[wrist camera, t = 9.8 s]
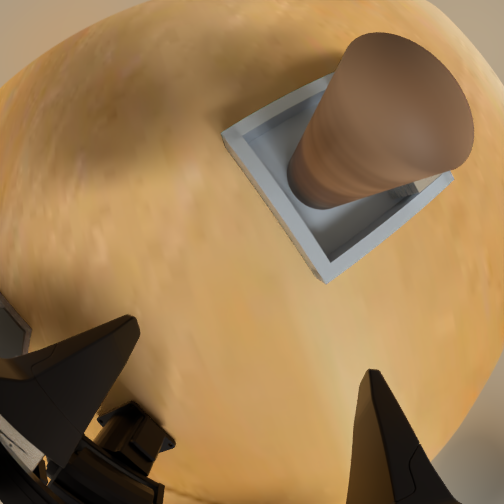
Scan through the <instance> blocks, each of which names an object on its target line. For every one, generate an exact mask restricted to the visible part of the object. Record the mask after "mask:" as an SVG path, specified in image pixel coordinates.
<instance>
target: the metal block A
mask: <svg viewBox="0 0 504 504" xmlns="http://www.w3.org/2000/svg"><path fill="white" fill-rule="evenodd" d="M441 174H442V173H441ZM441 174H437V175H434V176H431V177H428V178H424V179H421V180H418V181H415V182H412V183H409V184H405V185H402V186H399V187H396V188H393V189H390V190H387V192H388V193H389V195H390V197H391V199H396V198H400V197H404V196H408V195H413V194H417V193H420V192H421V191H422V190H423V189H425V188H426V187H427V186H428V185H429V184H431V183H432V182H433V181H434V180H435V179H436V178H438V177H439V176H440V175H441Z"/></svg>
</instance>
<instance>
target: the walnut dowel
mask: <svg viewBox="0 0 504 504" xmlns="http://www.w3.org/2000/svg"><path fill="white" fill-rule="evenodd" d="M473 141H474V124H473V118H472V113H471V110H470V107H469V104H468V101H467V99H466V97H465V95H464V93H463V91H462V89H461V87H460V86H459V84H458V82H457V81H456V79H455V78H454V77H453V75H452V74H451V73H450V71H449V70H448V69H447V68H446V67H445V66H444V65H443V64H442V63H441V62H440V61H439V60H438V59H437V58H436V57H435V56H434V55H432V54H431V53H430V52H429V51H427V50H426V49H424V48H423V47H421V46H420V45H418V44H416V43H415V42H413V41H411V40H408V39H406V38H403V37H401V36H398V35H394V34H389V33H378V32H376V33H368V34H365V35H362V36H360V37H358V38H356V39H355V40H354V41H352V42H351V43H350V45H349V46H348V47H347V49H346V51H345V53H344V55H343V57H342V59H341V61H340V63H339V65H338V67H337V69H336V71H335V73H334V74H333V76H332V78H331V80H330V82H329V84H328V86H327V88H326V90H325V92H324V94H323V96H322V98H321V100H320V102H319V104H318V106H317V108H316V110H315V112H314V114H313V116H312V118H311V120H310V122H309V123H308V125H307V127H306V129H305V131H304V133H303V135H302V137H301V139H300V141H299V143H298V145H297V147H296V149H295V151H294V153H293V155H292V157H291V159H290V161H289V164H288V167H287V181H288V185H289V187H290V189H291V191H292V193H293V194H294V196H295V197H296V198H297V199H298V200H299V201H300V202H301V203H303V204H304V205H306V206H308V207H310V208H313V209H318V210H327V209H331V208H334V207H337V206H340V205H343V204H347V203H350V202H353V201H356V200H359V199H362V198H365V197H368V196H371V195H374V194H377V193H380V192H383V191H387V190H390V189H393V188H396V187H399V186H402V185H405V184H409V183H412V182H415V181H418V180H421V179H424V178H428V177H431V176H434V175H437V174H441V173H444V172H447V171H450V170H454V169H456V168H458V167H459V166H461V165H462V164H463V163H464V162H465V161H466V159H467V158H468V157H469V154H470V152H471V150H472V146H473Z"/></svg>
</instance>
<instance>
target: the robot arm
mask: <svg viewBox="0 0 504 504" xmlns="http://www.w3.org/2000/svg"><path fill="white" fill-rule="evenodd" d="M139 337H140V329H139V325H138V322H137V319H136V317H134V316H131V315H124V316H122V317H119V318H117V319H114V320H112V321H110V322H107V323H105V324H102V325H100V326H97V327H95V328H93V329H90V330H88V331H85V332H83V333H80V334H78V335H76V336H73V337H71V338H68V339H66V340H63V341H61V342H58V343H56V344H53V345H51V346H48V347H46V348H43V349H40V350H37V351H34V352H31V353H28V354H24V355H21V356H18V357H14V358H9V359H4V358H0V500H1V502H2V503H3V504H163V497H164V488H165V485H163V484H161V483H157V482H155V481H153V480H151V479H150V478H148V477H147V476H148V475H149V473H150V470H151V468H152V466H153V463H154V461H155V460H156V458H157V456H158V453H160V452H163V451H166V450H170V449H173V448H175V445H176V443H175V441H174V440H172V439H171V438H170V437H169V436H168V435H167V434H166V433H165V432H164V431H163V430H162V429H161V428H160V427H159V426H158V425H157V424H156V423H155V422H154V421H153V420H152V419H151V418H150V417H149V416H148V415H147V414H146V413H145V412H144V411H143V410H142V409H141V408H140V406H139V405H138V404H137V403H136V402H134V401H130V402H128V403H126V404H124V405H121V406H119V407H117V408H115V409H113V410H111V411H109V412H107V413H104V414H102V415H100V416H99V417H98V418H97V421H98V422H99V423H100V424H101V426H102V427H103V428H102V430H101V431H100V432H99V434H98V435H97V436H96V438H95V439H94V440H93V441H92V440H90V439H89V438H88V437H86V436H85V434H84V432H85V430H86V429H87V427H88V425H89V423H90V422H91V420H92V418H93V417H94V415H95V413H96V412H97V410H98V408H99V407H100V405H101V403H102V402H103V400H104V398H105V397H106V395H107V393H108V392H109V390H110V389H111V387H112V385H113V384H114V382H115V381H116V379H117V377H118V376H119V374H120V373H121V371H122V369H123V368H124V366H125V364H126V363H127V361H128V359H129V357H130V355H131V353H132V351H133V349H134V347H135V345H136V343H137V341H138V339H139ZM133 406H134V407H133ZM45 455H46V458H47V462H48V464H47V466H46V467H47V469H46V467H45V461H44V460H43V457H44V456H45ZM47 476H48V477H49V478H50V479H51V481H50V482H49V484H48V485H47V483H48V479H47ZM46 485H47V486H46ZM346 504H462V503H460V502H458V501H457V500H456V499H455V498H454V497H453V496H452V495H451V493H450V492H449V490H448V489H447V487H446V486H445V484H444V483H443V481H442V480H441V478H440V477H439V475H438V474H437V472H436V471H435V469H434V467H433V466H432V464H431V463H430V461H429V459H428V457H427V455H426V454H425V452H424V450H423V448H422V446H421V444H419V440H418V439H417V437H416V435H415V433H414V431H413V429H412V427H411V425H410V424H409V422H408V420H407V418H406V416H405V414H404V413H403V411H402V409H401V407H400V405H399V404H398V402H397V400H396V398H395V397H394V395H393V393H392V391H391V390H390V388H389V386H388V384H387V383H386V381H385V379H384V377H383V376H382V374H381V372H380V371H379V370H377V369H368V370H367V371H366V373H365V375H364V377H363V379H362V381H361V383H360V386H359V393H358V400H357V407H356V414H355V420H354V428H353V444H352V457H351V468H350V477H349V486H348V493H347V501H346Z"/></svg>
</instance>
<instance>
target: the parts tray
mask: <svg viewBox="0 0 504 504" xmlns="http://www.w3.org/2000/svg"><path fill="white" fill-rule="evenodd" d="M334 73H335V72H333V73H331V74H328V75H326V76H324V77H322V78H319V79H317V80H315V81H313V82H311V83H309V84H307V85H305V86H303V87H301V88H299V89H297V90H295V91H293V92H291V93H289V94H287V95H285V96H283V97H281V98H279V99H277V100H276V101H274V102H272V103H270V104H268V105H267V106H265V107H263V108H261V109H259V110H258V111H256V112H254V113H252V114H251V115H249V116H247V117H246V118H244V119H242V120H241V121H239V122H237V123H236V124H234V125H233V126H231V127H229V128H228V129H226V130H225V131H223V132H221V136H222V139H223V142H224V145H225V148H226V149H227V150H228V152H229V153H230V154H231V156H232V157H233V158H234V160H235V161H236V162H237V164H238V165H239V167H240V168H241V169H242V171H243V172H244V173H245V175H246V176H247V178H248V179H249V180H250V182H251V183H252V185H253V186H254V187H255V189H256V190H257V192H258V193H259V194H260V196H261V197H262V199H263V200H264V202H265V203H266V204H267V206H268V207H269V209H270V210H271V212H272V213H273V214H274V216H275V217H276V219H277V220H278V222H279V223H280V225H281V226H282V228H283V229H284V230H285V232H286V233H287V235H288V236H289V238H290V239H291V241H292V242H293V244H294V245H295V247H296V248H297V250H298V251H299V253H300V254H301V256H302V257H303V259H304V260H305V262H306V263H307V265H308V266H309V268H310V269H311V271H312V272H313V274H314V276H315V277H316V278H317V279H319V280H320V281H322V282H323V283H325V284H327V283H329V282H330V281H332V280H333V279H334V278H336V277H337V276H338V275H340V274H341V273H342V272H344V271H345V270H346V269H348V268H349V267H350V266H352V265H353V264H354V263H356V262H357V261H358V260H360V259H361V258H362V257H364V256H365V255H366V254H367V253H369V252H370V251H371V250H373V249H374V248H375V247H376V246H378V245H379V244H380V243H381V242H383V241H384V240H385V239H386V238H388V237H389V236H390V235H391V234H393V233H394V232H395V231H396V230H397V229H399V228H400V227H401V226H402V225H403V224H405V223H406V222H407V221H408V220H409V219H411V218H412V217H413V216H414V215H415V214H416V213H418V212H419V211H420V210H421V209H422V208H423V207H424V206H426V205H427V204H428V203H429V202H430V201H431V200H432V199H434V198H435V197H436V196H437V195H438V194H439V193H440V192H441V191H442V190H443V189H445V188H446V187H447V186H448V185H449V184H450V183H451V182H452V181H453V180H454V177H453V176H452V174H451V172H450V171H447V172H444V173H442V174H441V175H440V176H439V177H438V178H436V179H435V180H434V181H433V182H432V183H431V184H429V185H428V186H427V187H426V188H425V189H423V190H422V191H421V192H420V193H417V194H413V195H408V196H404V197H400V198H396V199H391V197H390V195H389V193H388V192H387V191H383V192H380V193H377V194H374V195H371V196H368V197H365V198H362V199H359V200H356V201H353V202H350V203H347V204H343V205H340V206H337V207H334V208H331V209H327V210H318V209H313V208H310V207H308V206H306V205H304V204H303V203H301V202H300V201H299V200H298V199H297V198H296V197H295V196H294V194H293V193H292V191H291V189H290V187H289V185H288V181H287V167H288V164H289V161H290V159H291V157H292V155H293V153H294V151H295V149H296V147H297V145H298V143H299V141H300V139H301V137H302V135H303V133H304V131H305V129H306V127H307V125H308V123H309V122H310V120H311V118H312V116H313V114H314V112H315V110H316V108H317V106H318V104H319V102H320V100H321V98H322V96H323V94H324V92H325V90H326V88H327V86H328V84H329V82H330V80H331V78H332V76H333V74H334Z"/></svg>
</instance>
